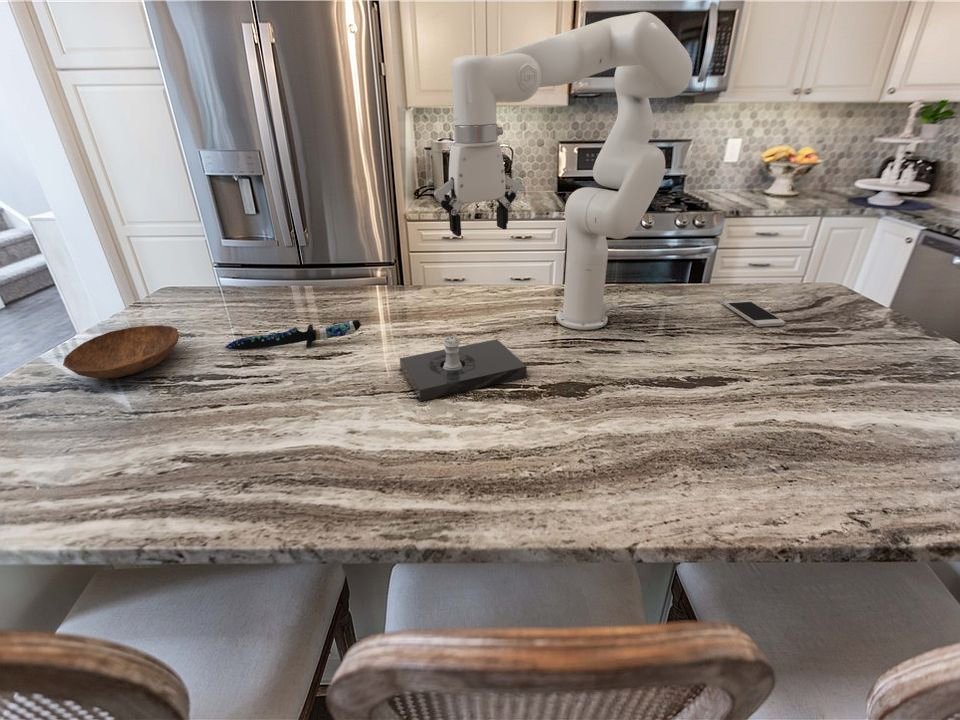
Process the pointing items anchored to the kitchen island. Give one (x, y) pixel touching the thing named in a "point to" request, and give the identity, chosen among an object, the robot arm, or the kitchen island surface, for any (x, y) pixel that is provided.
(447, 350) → the rook chess piece
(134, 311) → the kitchen island surface
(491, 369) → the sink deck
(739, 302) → the smartphone
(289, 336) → the knife
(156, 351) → the bowl
